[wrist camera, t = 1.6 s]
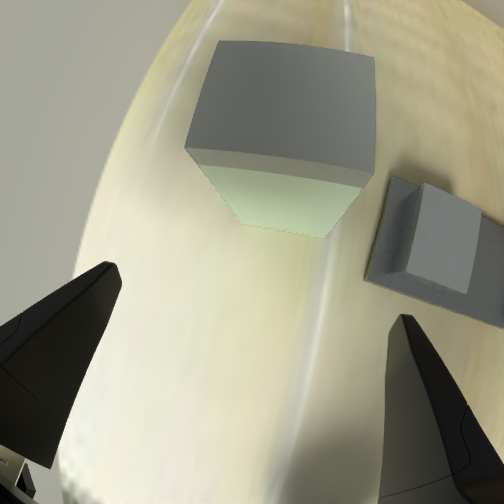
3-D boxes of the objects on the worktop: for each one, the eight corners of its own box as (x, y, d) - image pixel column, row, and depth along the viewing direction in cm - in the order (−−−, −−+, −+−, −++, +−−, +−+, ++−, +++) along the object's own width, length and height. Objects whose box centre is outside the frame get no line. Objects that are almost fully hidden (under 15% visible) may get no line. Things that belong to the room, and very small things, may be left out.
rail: (542, 343, 17) (567, 348, 14) (363, 280, 21) (379, 279, 17) (557, 266, 18) (582, 263, 14) (389, 180, 21) (407, 160, 17)
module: (324, 238, 21) (374, 173, 8) (242, 224, 22) (183, 147, 9) (332, 173, 22) (374, 57, 9) (254, 161, 22) (218, 40, 10)
